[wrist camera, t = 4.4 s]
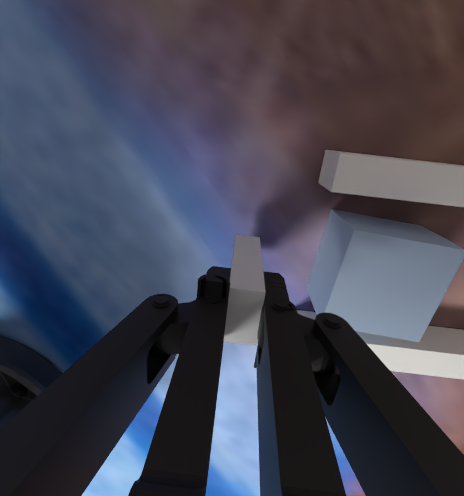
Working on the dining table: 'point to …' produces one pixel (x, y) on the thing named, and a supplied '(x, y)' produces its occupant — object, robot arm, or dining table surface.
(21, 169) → the dining table surface
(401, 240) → the block
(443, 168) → the chute
